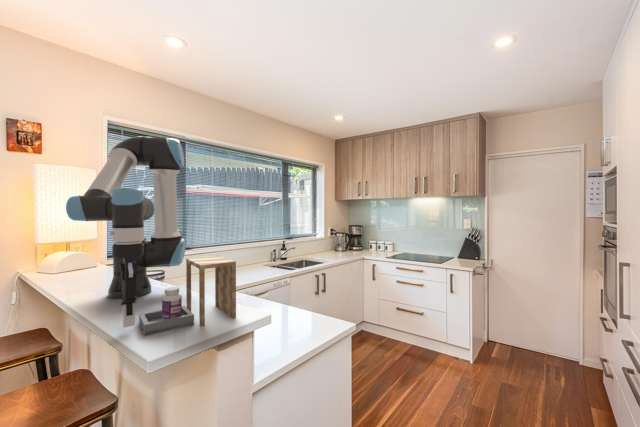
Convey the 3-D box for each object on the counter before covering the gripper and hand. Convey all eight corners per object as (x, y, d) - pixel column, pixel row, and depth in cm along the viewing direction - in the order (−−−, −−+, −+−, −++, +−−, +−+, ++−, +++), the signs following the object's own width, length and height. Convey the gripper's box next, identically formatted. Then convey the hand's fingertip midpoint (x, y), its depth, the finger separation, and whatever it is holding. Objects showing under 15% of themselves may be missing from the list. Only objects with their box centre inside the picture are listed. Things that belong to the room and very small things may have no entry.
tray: (139, 323, 91) (139, 313, 91) (184, 314, 99) (184, 305, 99) (144, 335, 82) (144, 324, 82) (194, 324, 90) (194, 314, 90)
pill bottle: (173, 324, 88) (173, 291, 88) (158, 322, 89) (157, 290, 89) (185, 317, 93) (185, 286, 93) (170, 316, 94) (170, 286, 94)
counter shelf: (186, 311, 101) (186, 258, 101) (218, 305, 108) (218, 255, 108) (200, 326, 89) (200, 265, 89) (236, 317, 96) (235, 261, 95)
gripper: (111, 241, 87) (111, 321, 87) (113, 245, 77) (114, 336, 77) (140, 240, 92) (141, 316, 92) (147, 243, 81) (147, 329, 82)
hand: (129, 325), depth 84 cm, fingers closed
